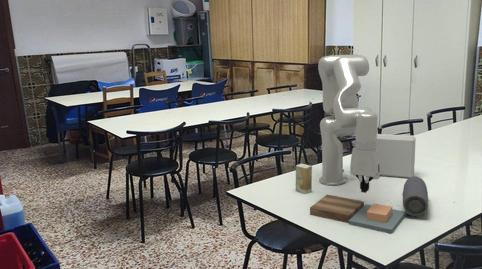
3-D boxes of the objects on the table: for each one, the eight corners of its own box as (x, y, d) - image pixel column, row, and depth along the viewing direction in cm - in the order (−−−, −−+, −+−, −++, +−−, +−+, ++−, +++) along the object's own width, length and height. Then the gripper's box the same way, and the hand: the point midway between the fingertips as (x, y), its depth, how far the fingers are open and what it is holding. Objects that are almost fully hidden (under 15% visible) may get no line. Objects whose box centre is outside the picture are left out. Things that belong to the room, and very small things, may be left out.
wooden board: (327, 201, 181) (327, 194, 181) (363, 208, 172) (364, 201, 171) (310, 214, 169) (309, 207, 168) (348, 223, 160) (348, 215, 159)
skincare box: (295, 191, 195) (294, 165, 192) (301, 188, 198) (300, 163, 195) (306, 194, 190) (306, 167, 188) (312, 191, 193) (312, 165, 191)
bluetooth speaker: (402, 196, 182) (403, 174, 180) (426, 198, 179) (427, 175, 177) (401, 218, 162) (402, 193, 160) (428, 220, 158) (429, 195, 156)
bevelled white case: (414, 174, 209) (416, 134, 205) (413, 179, 202) (415, 138, 198) (369, 170, 218) (370, 132, 214) (367, 175, 211) (368, 136, 207)
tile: (373, 210, 166) (373, 203, 165) (392, 213, 162) (392, 206, 161) (366, 219, 158) (366, 211, 158) (385, 223, 155) (386, 215, 154)
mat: (365, 207, 173) (365, 204, 172) (405, 215, 164) (405, 211, 163) (348, 224, 159) (348, 220, 158) (391, 233, 150) (391, 229, 149)
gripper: (342, 145, 159) (341, 191, 164) (383, 150, 151) (381, 198, 155) (350, 140, 165) (349, 184, 170) (389, 145, 157) (387, 191, 161)
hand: (364, 191), depth 163 cm, fingers closed
